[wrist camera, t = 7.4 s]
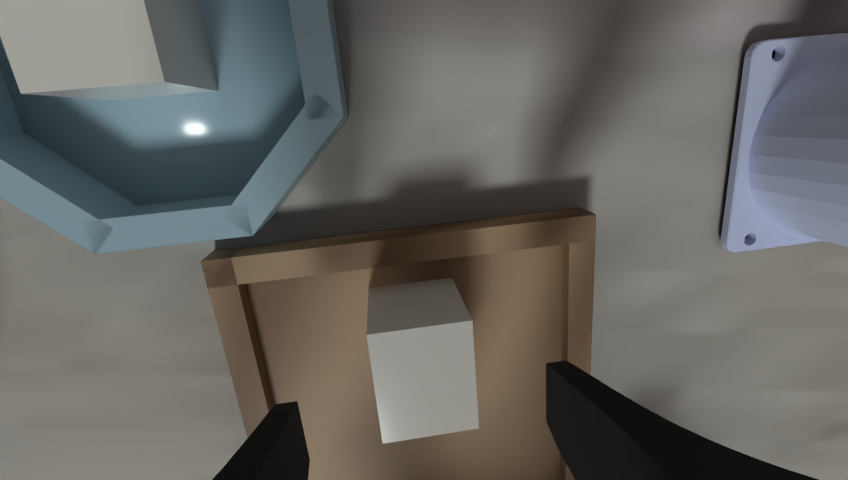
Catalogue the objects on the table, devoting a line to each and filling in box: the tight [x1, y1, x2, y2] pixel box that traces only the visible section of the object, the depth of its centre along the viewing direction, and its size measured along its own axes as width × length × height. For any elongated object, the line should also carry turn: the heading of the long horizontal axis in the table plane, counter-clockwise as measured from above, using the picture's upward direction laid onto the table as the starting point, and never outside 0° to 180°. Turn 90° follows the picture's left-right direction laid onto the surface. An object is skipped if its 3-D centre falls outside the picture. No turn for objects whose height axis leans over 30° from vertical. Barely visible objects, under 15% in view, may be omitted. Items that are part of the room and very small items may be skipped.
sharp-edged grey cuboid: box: [366, 278, 479, 444], centre depth 14 cm, size 3×4×4 cm
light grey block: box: [0, 0, 218, 100], centre depth 11 cm, size 3×4×4 cm
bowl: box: [0, 0, 349, 254], centre depth 12 cm, size 11×11×2 cm
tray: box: [201, 208, 596, 480], centre depth 17 cm, size 14×15×1 cm
